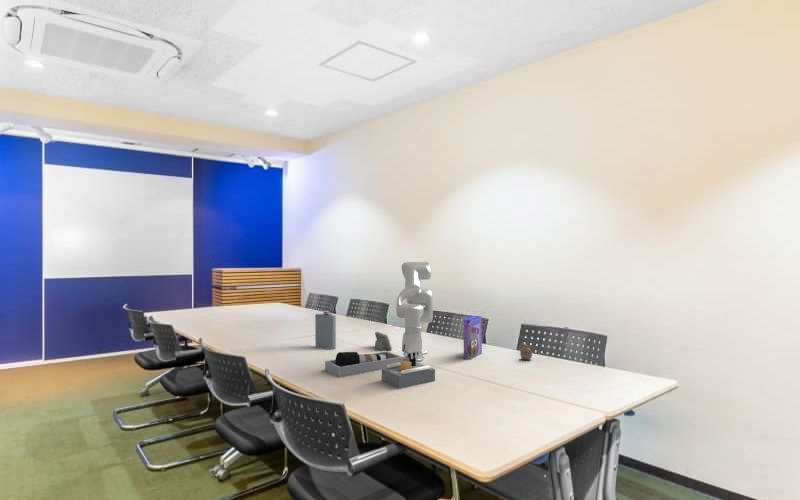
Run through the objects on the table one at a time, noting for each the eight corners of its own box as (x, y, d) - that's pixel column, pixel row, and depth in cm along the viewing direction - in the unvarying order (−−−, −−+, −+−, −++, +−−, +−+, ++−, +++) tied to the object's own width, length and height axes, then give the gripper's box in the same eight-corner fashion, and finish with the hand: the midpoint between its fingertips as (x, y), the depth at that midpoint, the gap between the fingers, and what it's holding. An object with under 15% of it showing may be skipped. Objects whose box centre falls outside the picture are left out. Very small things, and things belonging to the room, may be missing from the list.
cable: (392, 371, 261) (397, 358, 258) (340, 375, 243) (345, 360, 239) (384, 360, 269) (390, 347, 265) (333, 362, 250) (338, 348, 247)
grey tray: (387, 359, 272) (387, 351, 272) (403, 365, 258) (403, 356, 258) (325, 370, 249) (325, 361, 249) (338, 377, 235) (338, 367, 235)
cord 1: (413, 363, 240) (413, 359, 240) (416, 363, 238) (416, 360, 238) (385, 368, 230) (385, 364, 230) (387, 369, 228) (387, 365, 228)
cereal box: (470, 359, 271) (470, 319, 271) (463, 358, 274) (463, 319, 274) (481, 353, 286) (481, 316, 286) (474, 352, 288) (474, 315, 288)
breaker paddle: (406, 367, 230) (406, 360, 230) (411, 369, 227) (411, 362, 227) (400, 368, 228) (400, 361, 228) (404, 370, 225) (404, 363, 225)
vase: (525, 361, 266) (525, 346, 266) (517, 359, 272) (517, 344, 272) (534, 360, 269) (534, 345, 269) (526, 357, 275) (526, 343, 275)
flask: (337, 348, 302) (337, 311, 302) (333, 349, 298) (332, 312, 298) (319, 345, 312) (319, 309, 312) (314, 346, 308) (314, 310, 308)
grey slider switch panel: (416, 373, 241) (416, 362, 241) (435, 380, 228) (435, 368, 228) (381, 380, 229) (381, 368, 229) (399, 388, 216) (399, 375, 216)
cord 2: (428, 368, 229) (428, 364, 229) (431, 369, 227) (431, 365, 227) (399, 374, 219) (399, 370, 219) (402, 375, 217) (402, 371, 217)
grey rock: (392, 350, 295) (392, 334, 295) (379, 352, 292) (379, 335, 292) (385, 345, 310) (385, 330, 310) (373, 346, 307) (373, 331, 307)
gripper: (419, 327, 237) (419, 362, 237) (396, 330, 229) (396, 366, 229) (428, 329, 231) (428, 365, 231) (404, 332, 223) (404, 369, 223)
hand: (412, 365), depth 230 cm, fingers closed
